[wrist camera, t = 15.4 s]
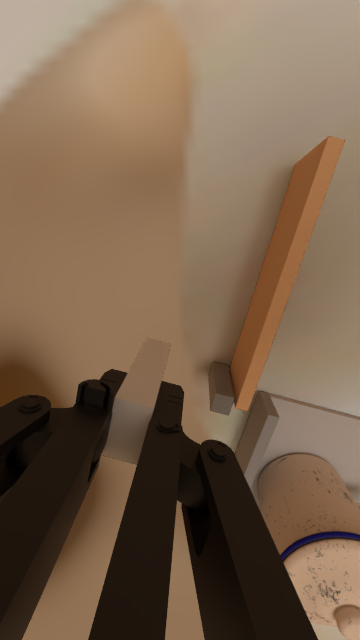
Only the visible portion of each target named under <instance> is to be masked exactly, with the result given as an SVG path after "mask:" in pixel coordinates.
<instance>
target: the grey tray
mask: <svg viewBox="0 0 360 640" xmlns="http://www.w3.org/2000/svg"><path fill="white" fill-rule="evenodd" d="M208 376H209V396H210V411H213V412H217V413H221V414H225V415H228V416H229V413H230V410H231V407H232V405H233V402H234V399H235V397H234V393H233V388H232V383H231V379H230V374H229V369H228V365H225V364H221V363H218V362H214V361H213V363H212V366H211V369H210V372H209V375H208ZM292 454H307V455H313V456H316V457H319V458H321V459H323V460H325V461H326V462H328V463H329V464H331V465H332V466H333V467H334V468H335V470H336V471H337V472H338V474H339V476H340V477H341V479H342V481H343V482H344V484H345V486H346V487H347V489H348V491H349V492H350V494H351V496H352V498H353V499H354V501H355V503H360V417H356V416H352V415H349V414H345V413H341V412H337V411H334V410H330V409H326V408H322V407H318V406H315V405H311V404H307V403H303V402H300V401H296V400H292V399H288V398H285V397H281V396H277V395H273V394H269V393H266V392H262V391H259V392H258V395H257V398H256V400H255V403H254V406H253V408H252V411H251V413H250V416H249V419H248V421H247V424H246V427H245V429H244V432H243V434H242V437H241V440H240V442H239V445H238V448H237V450H236V453H235V456H236V458H237V460H238V463H239V465H240V467H241V469H242V472H243V474H244V476H245V478H246V481H247V483H248V485H249V487H250V489H251V492H252V494H253V496H254V498H255V501H256V503H257V505H258V507H259V509H260V512H261V514H262V510H261V505H260V501H259V496H258V489H257V486H258V481H259V478H260V475H261V474H262V472H263V471H264V469H265V468H266V467H267V466H268V465H269V464H270V463H272V462H273V461H275V460H277V459H279V458H281V457H284V456H287V455H292ZM262 516H263V514H262Z"/></svg>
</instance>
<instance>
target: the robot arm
mask: <svg viewBox="0 0 360 640" xmlns="http://www.w3.org/2000/svg"><path fill="white" fill-rule="evenodd" d="M170 346H171V344H169V343H165V342H161V341H157V340H154V339H150V338H147V339H146V341H145V343H144V344H143V346H142V348H141V350H140V352H139V354H138V355H137V357H136V359H135V361H134V363H133V365H132V367H131V369H130V370H129V372H128V373H126V372H122V371H118V370H114V369H111V370H109V371H107V372H105V373H104V375H103V376H102V377H101V379H100V380H95V379H93V380H87V381H83V382H81V383H80V384H79V386H78V391H77V398H76V404H75V405H74V406H73V407H71V408H51V403H50V401H49V400H48V399H47V398H45V397H42V396H38V395H27V396H22V397H20V398H17V399H15V400H13V401H11V402H9V403H8V404H6V405H4V406H2V407H0V640H22V638H23V636H24V633H25V631H26V629H27V627H28V624H29V622H30V620H31V618H32V615H33V613H34V611H35V609H36V606H37V604H38V602H39V599H40V597H41V595H42V593H43V590H44V588H45V586H46V583H47V581H48V579H49V577H50V575H51V572H52V570H53V568H54V566H55V563H56V561H57V559H58V557H59V554H60V552H61V550H62V548H63V545H64V543H65V541H66V539H67V536H68V534H69V532H70V529H71V527H72V525H73V523H74V520H75V518H76V516H77V514H78V511H79V509H80V507H81V504H82V502H83V500H84V498H85V496H86V493H87V491H88V489H89V487H90V484H91V482H92V480H93V477H94V475H95V473H96V471H97V468H98V466H99V460H100V456H101V454H102V452H103V450H104V452H103V456H105V457H109V458H113V459H117V460H121V461H125V462H129V463H132V464H136V465H137V467H136V471H135V474H134V479H133V481H132V485H131V488H130V492H129V496H128V499H127V503H126V506H125V510H124V514H123V517H122V521H121V524H120V528H119V531H118V535H117V539H116V542H115V546H114V549H113V553H112V556H111V560H110V564H109V567H108V571H107V574H106V578H105V582H104V585H103V589H102V592H101V596H100V599H99V603H98V607H97V610H96V614H95V617H94V621H93V624H92V628H91V632H90V635H89V639H88V640H165V630H166V619H167V608H168V596H169V584H170V572H171V562H172V550H173V539H174V526H175V515H176V504H177V500H178V501H179V502H181V503H182V513H183V519H184V525H185V530H186V536H187V542H188V547H189V553H190V558H191V564H192V570H193V576H194V582H195V587H196V593H197V599H198V604H199V610H200V616H201V621H202V627H203V633H204V638H205V640H318V639H317V636H316V634H315V632H314V630H313V627H312V625H311V623H310V621H309V619H308V616H307V614H306V612H305V610H304V607H303V605H302V603H301V601H300V599H299V596H298V594H297V592H296V590H295V587H294V585H293V583H292V581H291V578H290V576H289V574H288V572H287V570H286V567H285V565H284V563H283V561H282V558H281V556H280V554H279V552H278V550H277V547H276V545H275V543H274V541H273V538H272V536H271V534H270V532H269V530H268V527H267V525H266V523H265V521H264V518H263V516H262V514H261V512H260V509H259V507H258V505H257V503H256V501H255V498H254V496H253V494H252V492H251V489H250V487H249V485H248V483H247V481H246V478H245V476H244V474H243V472H242V469H241V467H240V465H239V463H238V460H237V458H236V456H235V454H234V453H233V451H232V450H231V448H229V447H228V446H227V445H226V444H224V443H222V442H220V441H217V440H206V441H204V442H202V444H201V445H200V444H198V443H196V442H194V441H193V440H191V439H189V438H188V437H187V436H186V435H185V434H184V432H183V429H182V426H181V421H182V420H181V419H182V410H183V399H184V391H183V389H182V387H181V386H179V385H175V384H171V383H167V382H164V381H162V378H163V374H164V370H165V366H166V362H167V358H168V354H169V351H170Z"/></svg>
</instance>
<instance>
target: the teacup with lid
mask: <svg viewBox="0 0 360 640" xmlns="http://www.w3.org/2000/svg"><path fill="white" fill-rule="evenodd" d="M257 489H258V496H259V501H260V505H261V510H262V514H263V518H264V521H265V523H266V525H267V527H268V530H269V532H270V534H271V536H272V538H273V541H274V543H275V545H276V547H277V550H278V552H279V554H280V556H281V558H282V561H283V563H284V565H285V567H286V570H287V572H288V574H289V576H290V578H291V581H292V583H293V585H294V587H295V590H296V592H297V594H298V596H299V599H300V601H301V603H302V605H303V607H304V610H305V612H306V614H307V616H308V619H309V621H311V622H314V623H317V624H322V625H327V626H338V629H339V631H340V632H341V634H342V635H343V636H344V637H345V638H347V639H349V640H360V503H355V501H354V499H353V498H352V496H351V494H350V492H349V491H348V489H347V487H346V486H345V484H344V482H343V481H342V479H341V477H340V476H339V474H338V472H337V471H336V470H335V468H334V467H333V466H332V465H331V464H329V463H328V462H326V461H325V460H323V459H321V458H319V457H316V456H313V455H307V454H292V455H287V456H284V457H281V458H279V459H277V460H275V461H273V462H272V463H270V464H269V465H268V466H267V467H266V468H265V469H264V471H263V472H262V474H261V475H260V478H259V481H258V486H257Z"/></svg>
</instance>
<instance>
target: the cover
mask: <svg viewBox="0 0 360 640" xmlns="http://www.w3.org/2000/svg"><path fill="white" fill-rule="evenodd" d="M344 143H345V140H343V139H339V138H335V137H331V136H328V137H327V138H326V139H325V140H324V141H322V142H321V143H320V144H319V145H318V146H316V147H315V148H314V149H313V150H312V151H310V152H309V153H308V154H307V155H306V156H304V157H303V158H302V159H301V160H300V161H299V162H297V163H296V164H295V167H294V170H293V173H292V176H291V179H290V182H289V185H288V189H287V192H286V195H285V198H284V201H283V204H282V207H281V210H280V213H279V217H278V220H277V223H276V226H275V229H274V232H273V235H272V238H271V241H270V245H269V248H268V251H267V254H266V257H265V260H264V263H263V266H262V269H261V273H260V276H259V279H258V282H257V285H256V288H255V291H254V294H253V297H252V301H251V304H250V307H249V310H248V313H247V316H246V319H245V322H244V325H243V329H242V332H241V335H240V338H239V341H238V344H237V347H236V350H235V353H234V357H233V360H232V363H231V366H230V369H229V374H230V379H231V383H232V388H233V393H234V397H235V399H234V404H235V408H237V409H241V410H245V411H248V409H249V406H250V404H251V401H252V398H253V395H254V393H255V390H256V387H257V384H258V381H259V379H260V376H261V373H262V370H263V368H264V365H265V362H266V359H267V356H268V354H269V351H270V348H271V345H272V343H273V340H274V337H275V334H276V331H277V329H278V326H279V323H280V320H281V318H282V315H283V312H284V309H285V306H286V304H287V301H288V298H289V295H290V293H291V290H292V287H293V284H294V281H295V279H296V276H297V273H298V270H299V268H300V265H301V262H302V259H303V256H304V254H305V251H306V248H307V245H308V243H309V240H310V237H311V234H312V231H313V229H314V226H315V223H316V220H317V218H318V215H319V212H320V209H321V206H322V204H323V201H324V198H325V195H326V193H327V190H328V187H329V184H330V181H331V179H332V176H333V173H334V170H335V168H336V165H337V162H338V159H339V156H340V154H341V151H342V148H343V145H344Z"/></svg>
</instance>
